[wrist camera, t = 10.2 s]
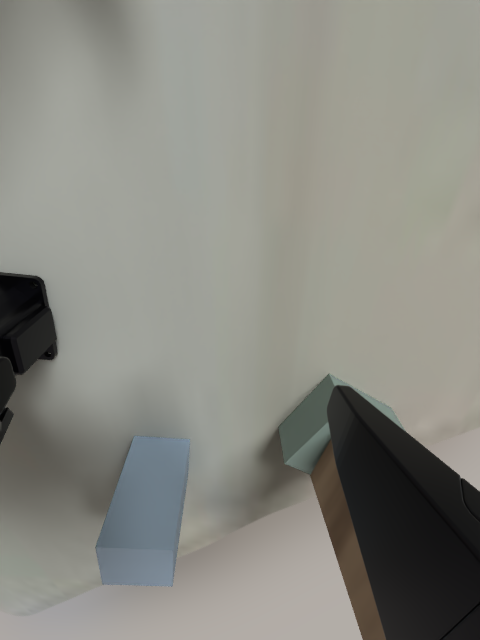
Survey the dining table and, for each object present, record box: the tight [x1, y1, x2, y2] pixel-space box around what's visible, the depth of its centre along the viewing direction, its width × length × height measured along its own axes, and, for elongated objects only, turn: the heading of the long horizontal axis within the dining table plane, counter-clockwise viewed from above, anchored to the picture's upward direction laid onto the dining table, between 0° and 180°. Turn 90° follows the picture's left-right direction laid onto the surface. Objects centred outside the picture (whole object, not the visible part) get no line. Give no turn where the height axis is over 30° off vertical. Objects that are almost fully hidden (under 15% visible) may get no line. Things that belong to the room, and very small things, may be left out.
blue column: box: [95, 436, 190, 586], centre depth 25 cm, size 5×5×9 cm
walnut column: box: [310, 440, 386, 640], centre depth 18 cm, size 5×5×12 cm
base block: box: [279, 374, 405, 475], centre depth 26 cm, size 7×7×4 cm
